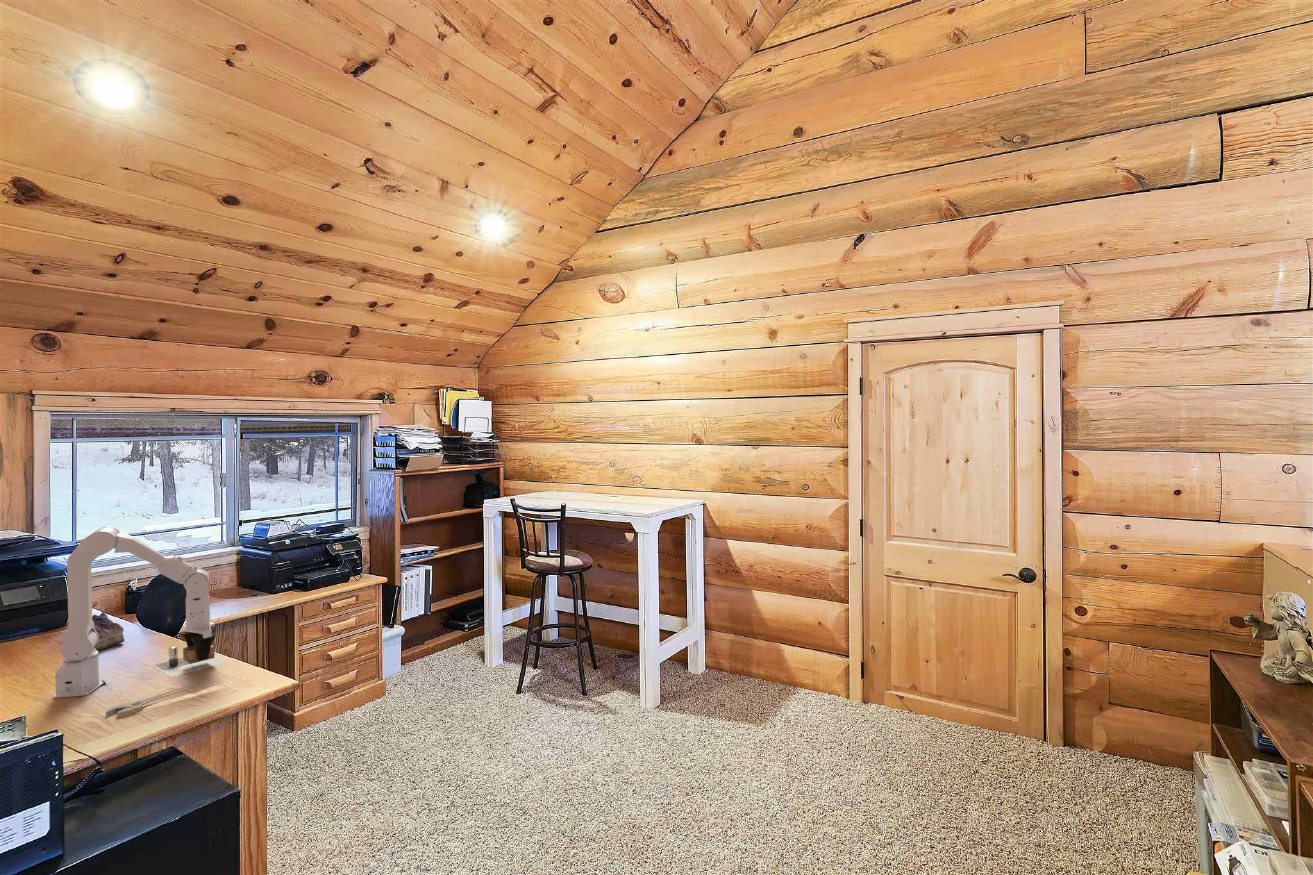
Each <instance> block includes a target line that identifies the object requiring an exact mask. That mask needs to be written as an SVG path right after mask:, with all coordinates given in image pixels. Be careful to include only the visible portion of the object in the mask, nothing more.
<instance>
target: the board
mask: <svg viewBox="0 0 1313 875" xmlns="http://www.w3.org/2000/svg"><path fill="white" fill-rule="evenodd" d="M214 666H219V663H217V661H214V660H212V659H208V660H204V661H201V662H197V663H193V664H187V665H183V666H179V667H175V668H171V669H167V670H162V669H161V668H159V667H158V666H156V665H154V666H153V667H154V668H156V669H158V671H160V672H161V673H163V674H165V675H166V676H168V677H169V678H172V677H177V676H180V675H184V674H189V673H191V672H195V671H199V670H202V669H207V668H209V667H214Z"/></svg>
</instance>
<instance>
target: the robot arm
mask: <svg viewBox="0 0 1313 875" xmlns="http://www.w3.org/2000/svg"><path fill="white" fill-rule="evenodd" d="M113 549H114V551H113ZM111 551H113V553H114V554H118V553H123V554H124V553H129V554H131V555H134V556H136V557H137V558H140V559H142V560H143V561H145V562H147V563H150V564H152V565H154V566H156V568H157V572H158V573H159V574H160V575H162V576H164V577H166V578H168V579H170V580H172V581H174V582H175V583H178V584H181V585H183V587H184V589H185V590H186V596H185V622H184V624H185V631H183V632H181V636H182V637H183V639H184V642H185V643H186V647H189V646H193V645H195V647H196V651H197V657H198V660H199V661H201V660H205V659H208V655H209V651H210V647H211V645H212V646H213V642H214V641H215V639H216V636H217V635H216V634H215V633H212V632H213V631H212V628H211V627H215V622H211V616H210V615H211V614H210V613H211V607H210V593H209V591H210V590H209V589H210V588H209V585H210V574H209V573H208V571H207V570H205V569H204V568H201V567H199V566H198V565H192V564H190V563H189V562H187V561H185V560H184V557H183V556H181V555H178V556H175V555H167V556H166V555H164V554H163V553H161V552H159V551H157V549H154V548H152V547H151V546H149V545H147V544H145V543H144V542H142V541H141V540H139V539H138V538H135V537H134V536H133V535H130V534H128V533H127V532H124V531H121V530H120V531H119V529H117V528H116V527H113V526H103V527H101V528H98V529H96V530H95V531H94V532H92V533H90V534H89V535H88V536H86V537H85V538H83V539H82V540H81V541H80V543H79V544H78V545H77V546H76V548H74V549H73V551H72V553H70V555H69V556H68V557H67V560H66V565H67V566H66V568H67V569H66V572H67V573H66V574H67V576H66V577H67V614H68V615H67V617H68V618H67V619H68V621H67V622H68V623H67V624H68V625H67V629H66V633H65V641H64V642H63V645H62V647H61V650H60V651H61V655H62V656H63V657H62V660H63V661H62V665H61V666H60V667H59V668H58V669H57V671H56V673H55V677H54V678H55V694H54V695H52V696H51V698H52V699H58V698H59V699H60V698H70V697H80V696H88V695H90V694H91V693H92V692H93V691H95V690H97V689H98V688H99V687H102V686H103V685H104V684H106V681H104V680H100V668H99V666H100V665H99V664H100V663H99V660H100V659H99V650H96V649H95V648H94V646H95V645H96V644H97V643H98V641H99V635H98V633H97V632H96V631H95V628H94V622H93V620H92V616H93V601H92V600H93V598H92V596H93V595H92V592H93V591H92V563H93V562H94V561H95V560H96V559H97V558H99V557H100V556H103V555H105V554H107V553H109V552H111Z"/></svg>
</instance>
